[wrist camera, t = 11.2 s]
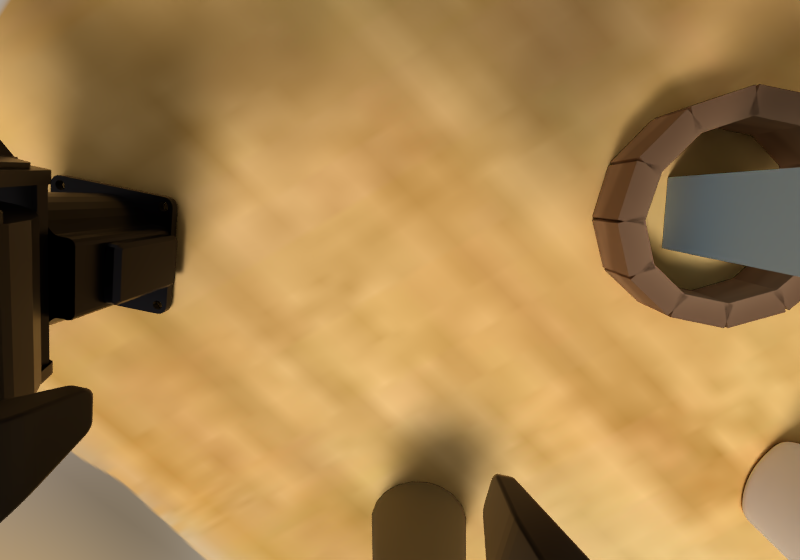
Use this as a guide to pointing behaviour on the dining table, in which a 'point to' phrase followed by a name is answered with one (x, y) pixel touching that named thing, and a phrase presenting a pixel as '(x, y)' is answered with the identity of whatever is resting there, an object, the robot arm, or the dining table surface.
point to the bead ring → (635, 187)
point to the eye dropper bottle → (776, 498)
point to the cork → (418, 524)
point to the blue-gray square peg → (737, 218)
